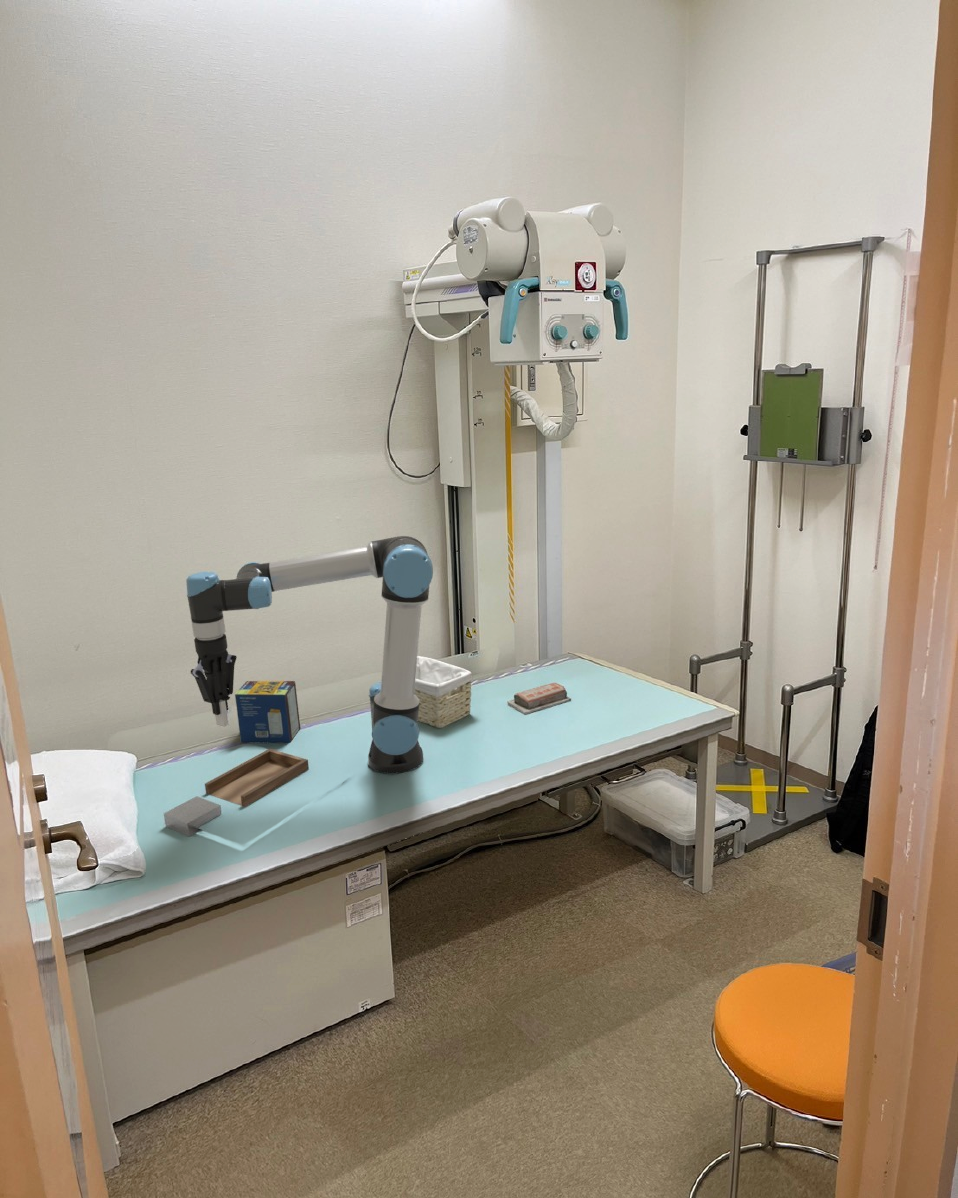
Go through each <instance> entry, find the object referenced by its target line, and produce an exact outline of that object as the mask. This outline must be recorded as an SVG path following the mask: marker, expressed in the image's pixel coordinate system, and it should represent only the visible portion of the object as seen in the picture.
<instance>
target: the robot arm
mask: <svg viewBox="0 0 958 1198" xmlns="http://www.w3.org/2000/svg"><path fill="white" fill-rule="evenodd" d="M433 575H434V568H433V563H432V560H431V558H430V556H429V554H428V551H427V549H426V547H425V545H424V544H423V543H422V542H421V540H419V539H417V538H416V537H412V536H409V535H399V536H398V535H397V536H393V537H389V538H388V537H387V538H382V539H379V540H372V541H370V542H369V543H368V544H367V545H366V546H359V547H354V548H348V549H342V550H341V549H340V550H337V551H331V552H324V553H320V554H318V553H317V554H311V555H307V556H306V555H305V556H301V557H296V558H295V557H294V558H289V559H282V560H277V561H272V562H265V563H260V562H257V561H251V562H248V563H246V564H244V565H243V566H241V568H240V569H239V570H238V572H237V573H236V578H234V579H221V580H220V578H219V575H218V573H216V572H214V571H200V572H195V573H192V574H190V575H189V576H187V578H186V581H185V582H186V592H187V593H186V597H187V600H188V601H187V602H188V608H189V612H190V620H191V627H192V634H193V637H194V639H193V640H194V648H195V653H196V654H197V666H196V667H195V668H192V669H190V675H192V676H193V677H194V679H195V681H196V684H197V687H198V689H199V692H200V694H201V695H200V696H201V697H202V700H203V702H204V703H209V704H211V710H212V714H213V715H214V717H215V722H216V723H215V724H216V726H220V727H226V726H228V725H230V724H229V719H228V712H227V711H228V710H229V705H228V701H229V700H231V696H230V695H233V693H234V683H235V682H234V681H235V680H234V678H235V664H236V662H237V661H236V660H237V655H234V654H230V653H229V652H228V650H227V649H228V641H227V634H226V625H225V618H224V613H223V612H231V611H242V610H259V609H262V608H263V609H264V608H269V607H270V606H271V605H272V602H273V592H277V591H278V592H279V591H284V590H285V591H286V590H289V589H296V588H297V589H298V588H301V587H302V588H303V587H308V586H309V587H310V586H313V585H320V584H325V583H332V582H337V581H344V580H349V579H356V578H362V577H368V576H373V577H375V579H380V578H381V579H382V581H381V583H382V584H381V597H382V600H384V601H385V603H386V614H385V627H384V641H383V642H384V643H383V655H382V665H381V666H382V669H381V681H379V682H376V683H374V684H372V685H371V686H370V688H369V694H368V697H369V704H370V705H369V706H370V717H371V738H372V739H371V743H370V747H369V751H368V756H367V759H368V761H367V762H368V766H369V768H370V769H371V770H373V771H376V772H379V773H380V774H402V773H407V772H410V771H412V770H415V769H417V768H419V766H421V765H422V764H423V763H424V751H423V749H422V747H421V745H420V742H419V736H420V730H419V729H420V727H419V724H418V722H419V721H418V714H419V699H418V697H417V696H416V695H415V694H414V690H415V678H416V666H417V657H418V651H419V643H420V642H419V640H420V639H419V638H420V631H421V629H420V627H421V617H422V615H421V614H422V606H423V605H424V604H425V603H426V602H428V600H429V595H430V594H429V593H430V585H431V583H432V579H433Z"/></svg>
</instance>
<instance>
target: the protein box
mask: <svg viewBox="0 0 958 1198" xmlns="http://www.w3.org/2000/svg"><path fill="white" fill-rule="evenodd" d="M234 697H235V707H236V713H237V721H238V731H239V738H240V743H247V742H254V743H255V742H260V743H259V744H261V743H263V742H264V743H263V744H267V742H268V744H291V743H292V741H293V740H294V738H295V736H296V735H297V734H298V732H299V730H300V729H301V722H300V715H299V714H300V713H299V703H298V694H297V685H296V681H295V680H286V681H284V680H275V681H273V680H271V681H270V680H269V681H268V680H261V681H260V680H257V681H256V680H250V681H249V680H247V681H245V683H243V685H242V686H241V687H240V688H238V690H237V691H236V692H235V693H234ZM254 743H253V744H254ZM255 744H256V743H255Z"/></svg>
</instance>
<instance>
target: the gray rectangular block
mask: <svg viewBox="0 0 958 1198" xmlns="http://www.w3.org/2000/svg"><path fill="white" fill-rule="evenodd" d="M222 814H223V813H222V808H221V804H219V803H216V802H214V801H211V800H208V799H205V798H202V797H200V796H194V797H192V798H189V800H187V801H185V802H183V803H181V804H179V805H177V806H175V807H174V808H171V809H169V810H168V811H166V812H163V818H164V826H165V827H166V828H167V829H170V830H172V831H174V832H177V833H180V834H181V835H184V836H186V837H189V838H190V837H192V836H194V835H196V834H197V833H199V832H201V831H202V829H200V828H199V827H201V826H203V825H205V824H207V823H208V822H210V821H212V820H213V819H215V818H217V817H219V816H221V815H222Z"/></svg>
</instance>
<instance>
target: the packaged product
mask: <svg viewBox="0 0 958 1198" xmlns="http://www.w3.org/2000/svg"><path fill="white" fill-rule="evenodd" d="M567 695H568V692H567V690H566V688H565V686H564V685H561V684H559V683H558V682H551V683H548V684H544V685H541V686H538V687H534V688H530V689H527V690H523V691H519V692H516V693H515V694H513V699H511V700H507V701H506V702H507V705H508V706H509V707H511V708H512V709H514V710H517V711H518V712H520V713H522V714H523V715H529V714H533V713H534V712H538V711H542V710H545V709H548V708H552V707H555V706H557V705H558V706H559V705H561V704H564V703H569V702H571V701H572V698H571V697H569V696H567Z"/></svg>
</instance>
